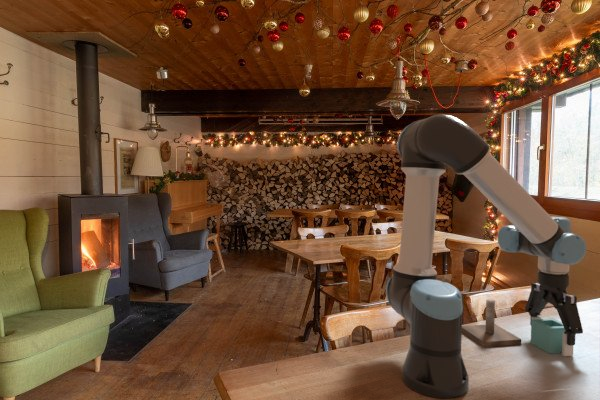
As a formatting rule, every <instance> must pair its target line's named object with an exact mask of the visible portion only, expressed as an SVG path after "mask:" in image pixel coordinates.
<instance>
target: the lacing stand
mask: <svg viewBox="0 0 600 400" xmlns="http://www.w3.org/2000/svg"><path fill="white" fill-rule="evenodd" d="M495 307H496V300H494V299H491V298H488V299H487V298H486V300H485V324H476V325H462V333H463V334H464V335H466V336H467V337H469V339H471V340H473V341H474V342H475V343H477V344H479V346H481V347H483V348H489V347H502V346H516V345H517V346H518V345H522V339H521V338H520V337H518V336H517V335H515V334H513V333H511V332H509V331H508V330H506V329H504V328H502V327H501V326H499V325H497V324H495V314H496V313H495V312H496V311H495V310H496V308H495Z"/></svg>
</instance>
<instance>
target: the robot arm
mask: <svg viewBox="0 0 600 400" xmlns="http://www.w3.org/2000/svg"><path fill="white" fill-rule="evenodd" d="M397 138H398V139H397V142H396V147H397V152H398V153H397V154H398V155H399V156H400V158H401V162H400V163H401V165H400V170H401V171H402V172H403V173H404V174H405V185H404V187H405V188H404V197H403V199H404V200H403V211H402V223H401V235H400V236H401V237H400V247H399V259H398V262H397V263H396V264H395V265H393V266H392V273H391V274H392V275H391V277H389V278H388V279H387V282H386V285H385V296H386V299H387V302H388V303H389V304H390V306H391V308H392V309H393V310H394V311H395V313H397V314H398V315H400V316H401V317H402V318H403V319H404V320H405V321H406V322H408V323H409V325H410V327H409V328H410V330H409V333H410V334H409V335H410V336H409V337H410V338H409V339H410V340H409V342H410V343H409V349H408V352H407V355H406V357H405V359H404V362H403V364H402V370H401V371H402V372H401V373H402V374H401V375H402V381H403V383H404V384H405V385H406V386H407V387H409V388H410V389H411V390H413V391H415V392H417V393H419V394H421V395H425V396H428V397H430V398H431V397H432V398H436V399H437V398H438V399H453V398H458V397H461V396H464V395H465V394H466V393H467V392H468V391H469V381H470V379H469V374H468V371H467V367H466V365H465V362H464V358H463V355H462V335H463V334H462V333H463V332H462V326H463V311H464V305H463V304H464V303H463V297H462V296H463V295H462V292H461V291H460V290H459V288H457V287H456V286H455V285H453V284H451V283H449V282H446V281H445V282H443V281H442V280H439V279H437V278H438V277H437V276H438V272H437V271H436V269H435V268H434V267H433V255H434V242H435V232H436V231H435V230H436V218H437V207H438V206H437V205H438V197H439V187H440V186H439V183H440V178H441V176H442V175H443V174H444V173H446V172H447V167H448V168H450V169H451V170H452V171H453V172H454V173H455V174H457V175H463V176H464V177H465V178H466V179H468V181H469V182H471V184H472V185H473V186H474V187H475V188H476V189H477V190H478V191H479V192H481V194H482V195H483V196H484V197H485V198H486V199H487V200H488V201H489V202H490V203H492V205H493V206H494V207H495V208H496V209H497V210H498V211H499V212H500V213H501V214H502V215H503V216H504V217H505V218H506V219H507V220H508V222H510V223H511V225H509V224H508V225H504V226H502V227H501V228H500V229H499V230H498V233H497V243H498V245H499V248H500V249H501V250H502V251H504V252H506V253H513V254H515V253H524V254H526V255H531V256H534V257H537V268H538V271H537V282H536V283H535V282H534V283H531V285H530V287H531V288H530V292H529V296H528V298H527V302H526V305H525V308H524V311H525V312H526V313H528V314H529V316H530V319H529V320H530V322H529V324H530V326H531V320H534V319H542V317H541V313H542V312H543V310H544V309H545V307H546V306H547V304H550V305H552V306H553V308H554V309H556V311H557V314H558V316H559V319H560V322H562V324H563V326H564V329H565V332H563V342H562V352H561V356H563V357H572V356H574V346H575V345H576V335H579V334H583V332H584V329H583V325H582V322H581V321H582V320H581V317H580V314H579V309H578V304H577V301H578V298H577V296H576V295H570V294H568V293H567V288H568V287H569V285H570V274H569V271H570V265H573V266H574V265H576V264H578V263H580V262H581V261H582V260H583V259H584V257H585V256H586V253H587V245H586V242H585V240H584V239H583V237H582V236H580V235H578V234H575V233H574V232H572V226H571V220H570V219H569V218H567V217H565V216H551V215H550V214H549V213H548V212H547V211H546V210H545V208H543V206H541V204H540V203H539V202H538V201H536V200H535V199H534V198H533V197H532V196H531V194H530V193H529V192H528V191H527V190H526V189H525V188H524V187H523V186H522V185H521V184H520V182H518V181H517V180H516V179H515V177H513V175H512V174H510V172H509V171H508V170H507V169H506V168H505V167H504V166H503V165H502V164H501V163H500V162H499V161H498V160H497V159H496V158H495V157H494V155H492V154H491V146H490V145H489V143H487V142H486V141H485V140H484V138H483V137H482V136H481V135H479V133H477V131H475V129H473V128H472V127H471V126H470V125H468V124H467V123H466V122H464V121H463V120H461V119H459V118H458V117H456V116H453V115H450V114H443V113H442V114H434V115H431V116H429V117H427V118H424V119H419V120H416V121H415V120H414V121H413V122H412V123H410V124H408V125H407V126H405V127H404V128H403V129H402V130H401V132H400V134H399V135H398V137H397ZM569 327H570V328H571V329H569Z"/></svg>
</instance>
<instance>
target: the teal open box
mask: <svg viewBox="0 0 600 400" xmlns="http://www.w3.org/2000/svg"><path fill="white" fill-rule="evenodd" d="M569 329H571V328H570V327H569ZM563 332H565V329H564V326H563V324H562V321H561V320H557V319H556V318H553V317H552V318H541V319H534V320H531V325H530V343H531V344H532V345H534V346H536V347H537V348H538V349H541V350H542V351H545V352H546V353H548V354H559V353H562V342H563Z"/></svg>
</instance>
